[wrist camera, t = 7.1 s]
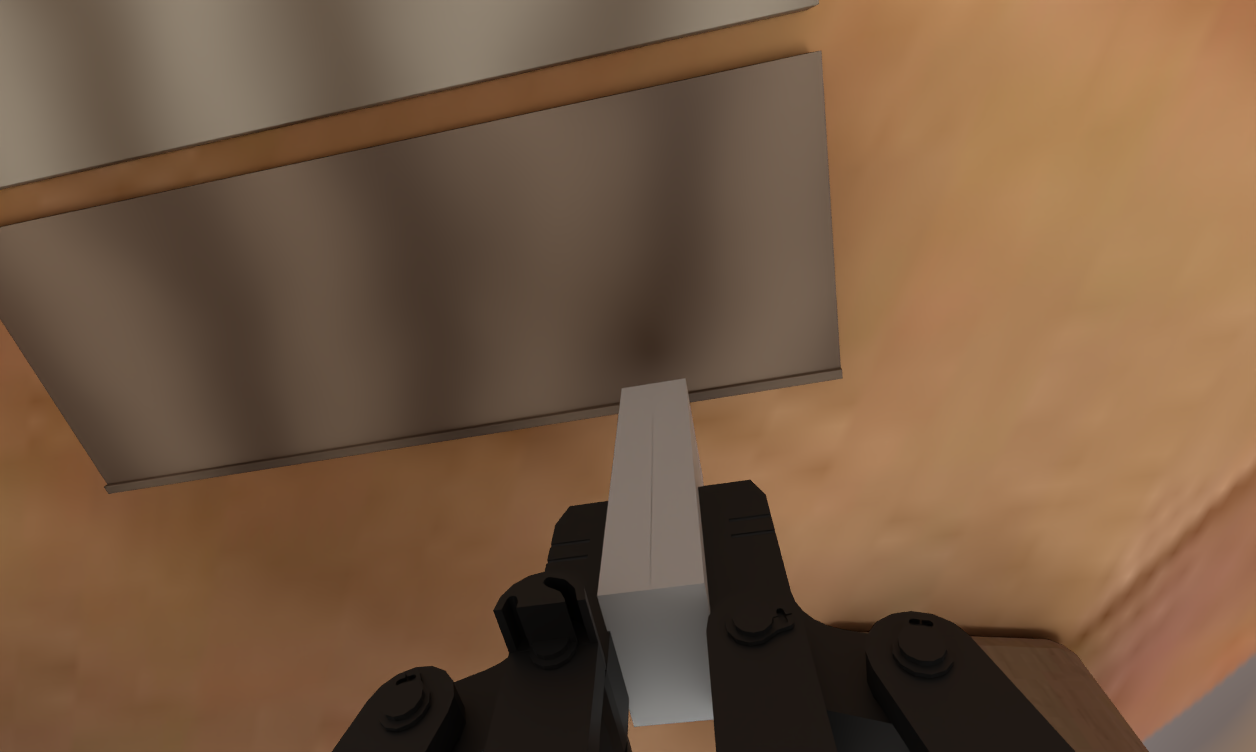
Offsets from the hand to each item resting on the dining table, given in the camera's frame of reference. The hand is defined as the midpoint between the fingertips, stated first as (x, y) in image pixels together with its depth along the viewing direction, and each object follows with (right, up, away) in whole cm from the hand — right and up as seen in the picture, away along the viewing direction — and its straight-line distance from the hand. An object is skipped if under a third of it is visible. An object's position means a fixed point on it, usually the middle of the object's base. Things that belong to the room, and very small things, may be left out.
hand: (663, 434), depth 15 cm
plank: (-7, +4, +5) cm, 10 cm away
